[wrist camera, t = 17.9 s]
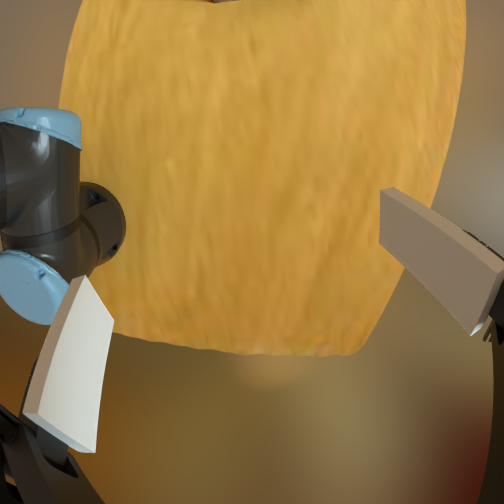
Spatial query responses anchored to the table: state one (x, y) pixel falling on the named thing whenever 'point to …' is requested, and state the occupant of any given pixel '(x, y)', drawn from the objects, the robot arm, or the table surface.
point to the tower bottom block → (217, 0)
